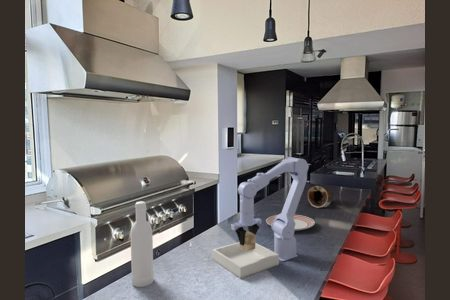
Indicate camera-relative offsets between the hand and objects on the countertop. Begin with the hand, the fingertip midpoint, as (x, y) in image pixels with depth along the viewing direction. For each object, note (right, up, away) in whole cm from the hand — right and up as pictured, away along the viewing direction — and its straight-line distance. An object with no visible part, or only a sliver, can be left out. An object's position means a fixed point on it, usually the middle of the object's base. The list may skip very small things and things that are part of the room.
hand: (246, 243), depth 125 cm
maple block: (0, -2, 0) cm, 2 cm away
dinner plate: (+28, -5, +48) cm, 56 cm away
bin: (-1, -9, +2) cm, 9 cm away
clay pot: (+62, -1, +94) cm, 113 cm away
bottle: (-40, -10, -14) cm, 43 cm away
